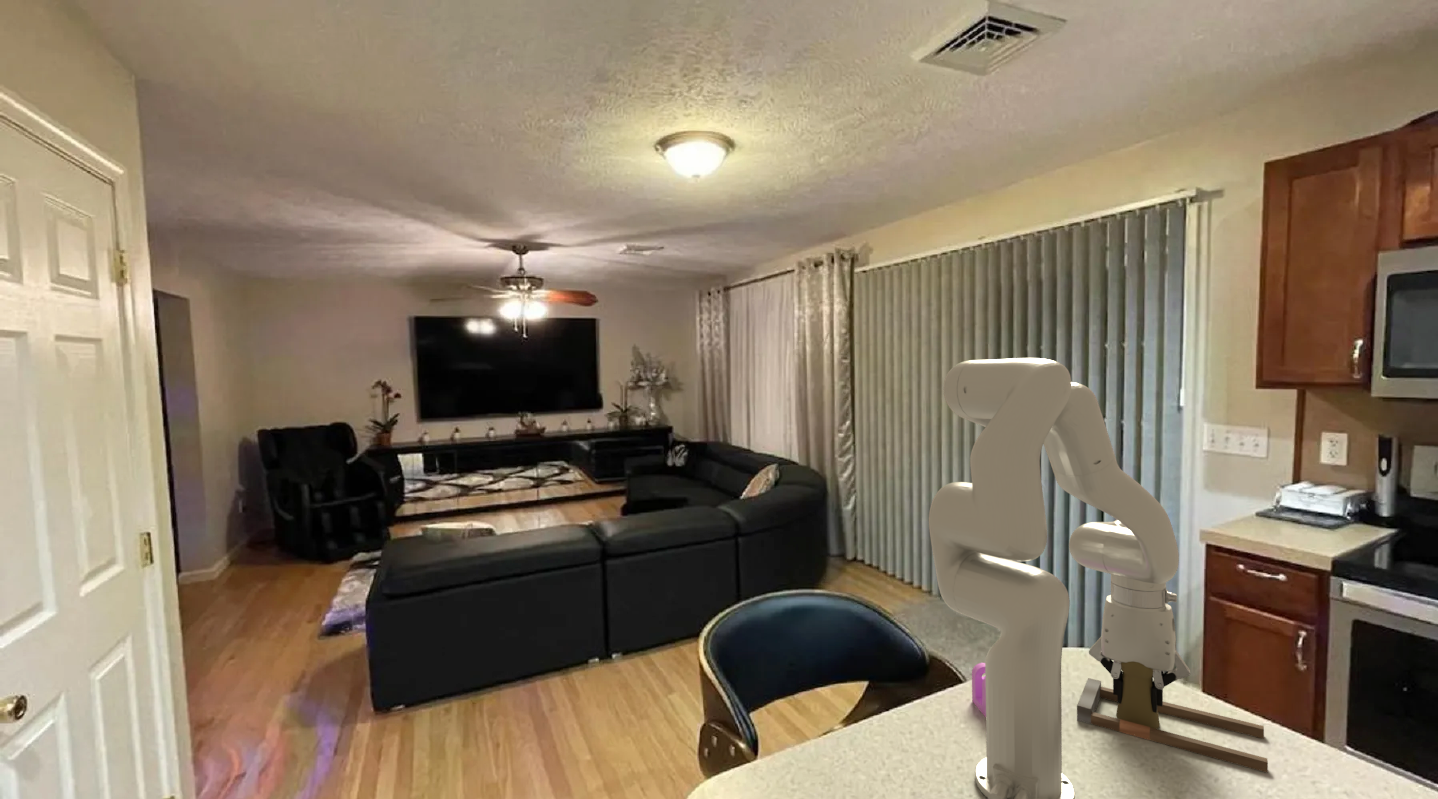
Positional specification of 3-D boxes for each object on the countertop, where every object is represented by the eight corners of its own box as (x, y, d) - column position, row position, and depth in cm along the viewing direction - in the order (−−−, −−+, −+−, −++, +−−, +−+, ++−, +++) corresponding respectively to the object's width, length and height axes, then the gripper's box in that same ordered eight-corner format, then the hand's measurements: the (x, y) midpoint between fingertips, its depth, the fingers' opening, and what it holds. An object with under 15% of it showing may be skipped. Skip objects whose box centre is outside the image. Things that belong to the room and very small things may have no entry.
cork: (1167, 731, 102) (1167, 664, 101) (1125, 728, 103) (1125, 661, 103) (1149, 711, 108) (1149, 647, 107) (1110, 708, 109) (1110, 645, 109)
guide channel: (1267, 772, 91) (1267, 755, 91) (1077, 720, 106) (1077, 705, 106) (1263, 735, 100) (1263, 719, 100) (1088, 691, 115) (1088, 677, 115)
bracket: (986, 718, 108) (985, 678, 107) (972, 701, 113) (971, 663, 113) (1062, 715, 108) (1062, 675, 108) (1045, 698, 113) (1044, 660, 113)
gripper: (1202, 598, 102) (1201, 710, 103) (1083, 579, 113) (1083, 681, 114) (1201, 613, 96) (1200, 731, 97) (1075, 591, 107) (1076, 699, 108)
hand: (1137, 703), depth 105 cm, fingers closed on cork, 4 cm apart
